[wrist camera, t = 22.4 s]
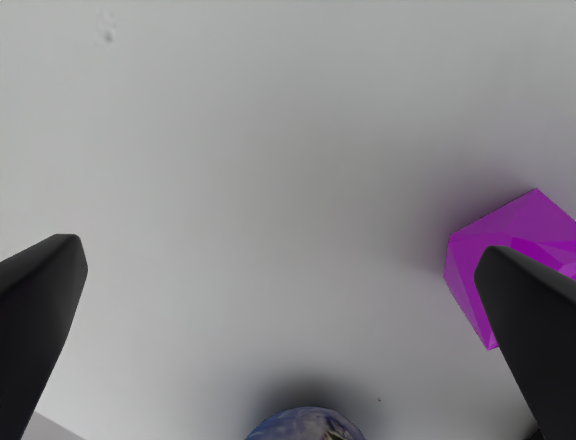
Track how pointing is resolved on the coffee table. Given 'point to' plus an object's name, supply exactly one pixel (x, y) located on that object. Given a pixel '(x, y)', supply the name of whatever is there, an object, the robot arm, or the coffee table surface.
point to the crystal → (517, 235)
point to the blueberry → (306, 426)
